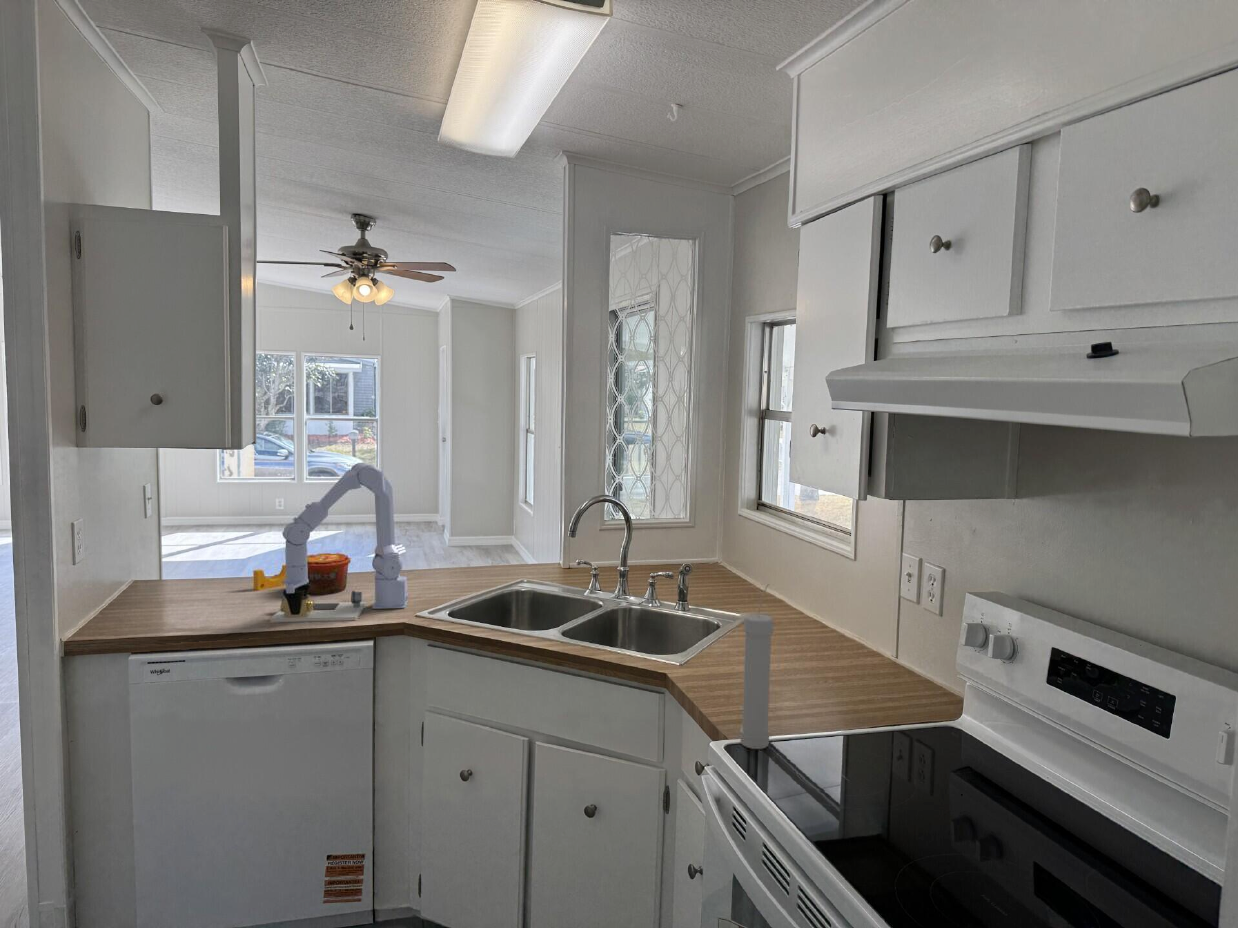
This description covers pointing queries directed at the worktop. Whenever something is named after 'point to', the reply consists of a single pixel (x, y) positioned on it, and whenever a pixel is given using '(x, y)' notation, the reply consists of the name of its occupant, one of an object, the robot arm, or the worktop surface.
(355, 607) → the pipe board
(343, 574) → the food container
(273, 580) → the pipe clamp
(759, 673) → the grey piece
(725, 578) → the worktop surface
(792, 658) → the worktop surface
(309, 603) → the brass valve
